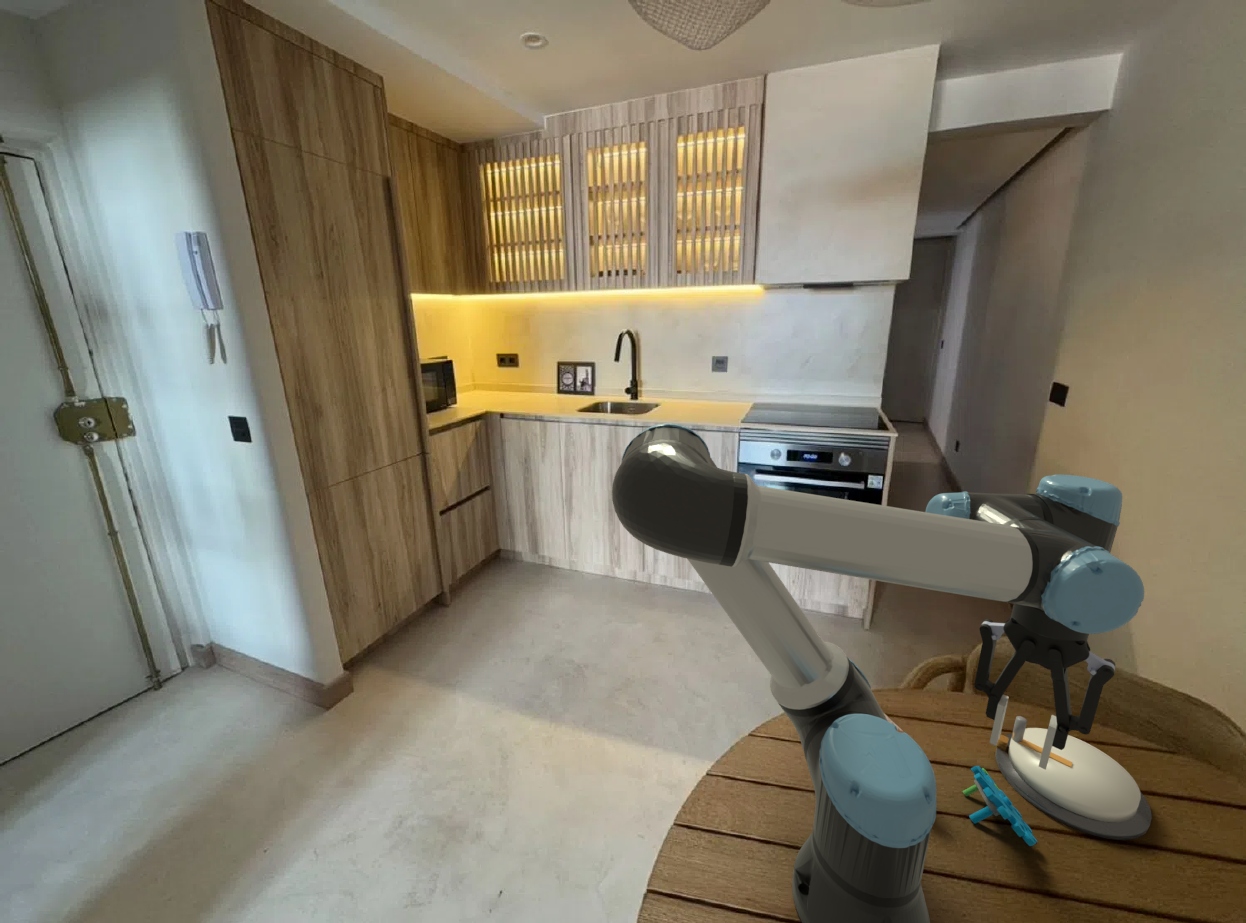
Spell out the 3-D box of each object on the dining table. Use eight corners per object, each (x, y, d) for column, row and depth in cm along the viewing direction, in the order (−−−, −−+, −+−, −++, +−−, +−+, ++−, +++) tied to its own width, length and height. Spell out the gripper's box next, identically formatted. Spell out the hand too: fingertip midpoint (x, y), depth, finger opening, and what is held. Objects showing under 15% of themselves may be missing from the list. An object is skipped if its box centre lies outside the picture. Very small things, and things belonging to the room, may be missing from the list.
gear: (1056, 860, 64) (999, 798, 65) (1014, 880, 66) (959, 819, 67) (1015, 796, 75) (966, 743, 76) (980, 814, 77) (933, 762, 78)
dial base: (983, 781, 78) (986, 768, 77) (1007, 720, 90) (1010, 708, 89) (1148, 868, 65) (1153, 853, 64) (1151, 783, 77) (1155, 770, 76)
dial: (1141, 778, 76) (1151, 746, 75) (1132, 844, 67) (1143, 809, 65) (1019, 723, 87) (1026, 694, 86) (997, 773, 78) (1004, 741, 76)
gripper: (963, 583, 66) (937, 729, 72) (1156, 641, 53) (1105, 811, 59) (977, 565, 71) (952, 702, 77) (1157, 614, 58) (1109, 773, 64)
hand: (1018, 750), depth 68 cm, fingers open, 5 cm apart
